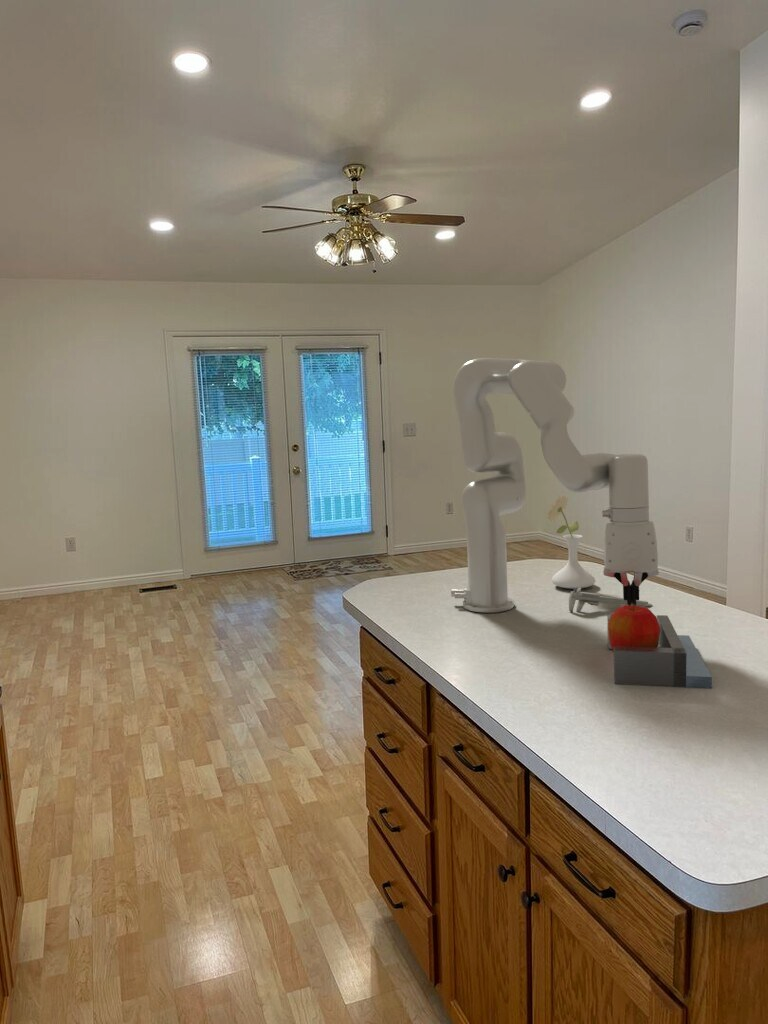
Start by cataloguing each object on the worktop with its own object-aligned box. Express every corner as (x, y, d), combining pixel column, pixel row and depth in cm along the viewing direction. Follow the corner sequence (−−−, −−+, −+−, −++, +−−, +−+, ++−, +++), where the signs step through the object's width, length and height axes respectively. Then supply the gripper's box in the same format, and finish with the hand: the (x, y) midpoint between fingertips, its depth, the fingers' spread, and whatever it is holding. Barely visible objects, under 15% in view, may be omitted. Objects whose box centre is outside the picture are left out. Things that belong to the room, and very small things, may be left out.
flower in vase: (576, 579, 196) (575, 490, 192) (604, 588, 185) (604, 494, 182) (537, 586, 190) (536, 494, 187) (564, 595, 180) (563, 498, 177)
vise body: (615, 684, 122) (614, 650, 121) (606, 642, 143) (606, 614, 142) (711, 688, 118) (712, 654, 117) (688, 645, 139) (689, 615, 138)
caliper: (570, 614, 165) (570, 588, 164) (568, 613, 166) (568, 587, 165) (653, 607, 167) (653, 581, 166) (650, 606, 168) (650, 580, 167)
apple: (599, 659, 134) (599, 598, 132) (644, 655, 135) (644, 594, 133) (621, 676, 125) (621, 611, 123) (669, 672, 126) (670, 607, 124)
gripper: (591, 519, 140) (594, 608, 143) (671, 516, 137) (673, 608, 139) (590, 514, 148) (592, 599, 150) (665, 511, 144) (667, 598, 146)
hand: (631, 603), depth 144 cm, fingers closed
